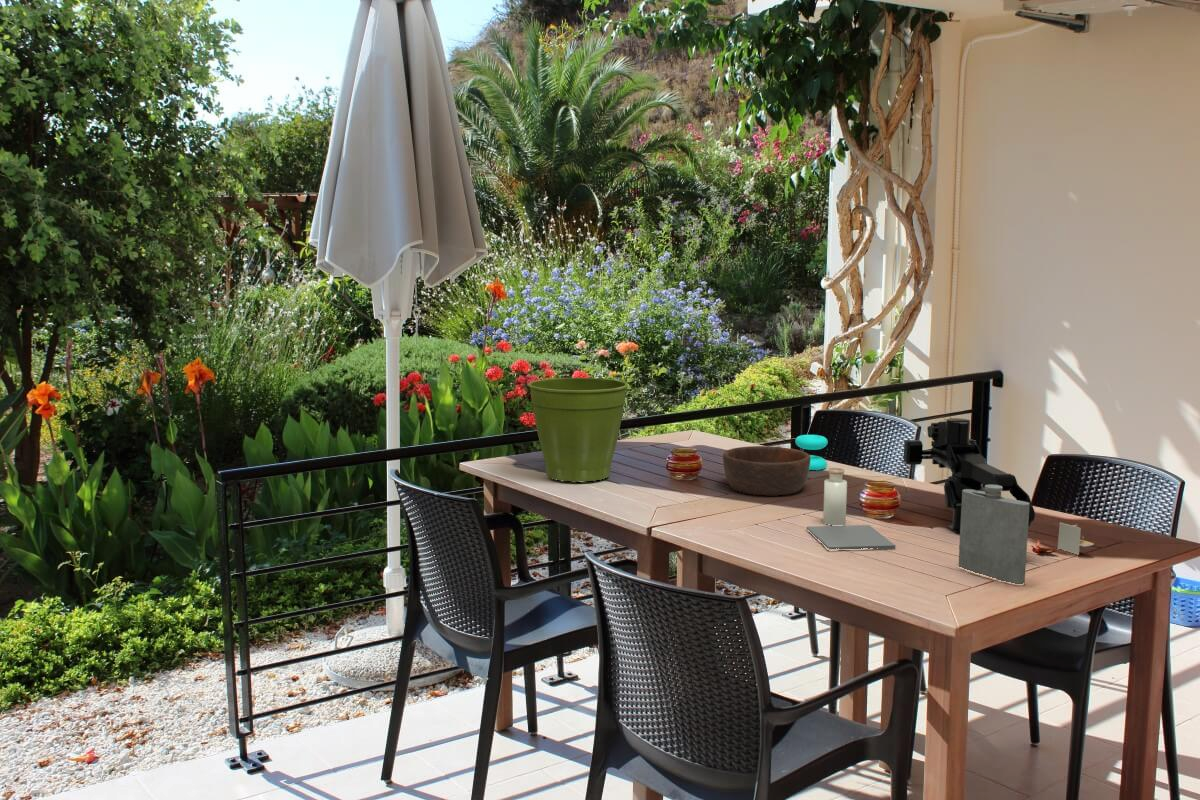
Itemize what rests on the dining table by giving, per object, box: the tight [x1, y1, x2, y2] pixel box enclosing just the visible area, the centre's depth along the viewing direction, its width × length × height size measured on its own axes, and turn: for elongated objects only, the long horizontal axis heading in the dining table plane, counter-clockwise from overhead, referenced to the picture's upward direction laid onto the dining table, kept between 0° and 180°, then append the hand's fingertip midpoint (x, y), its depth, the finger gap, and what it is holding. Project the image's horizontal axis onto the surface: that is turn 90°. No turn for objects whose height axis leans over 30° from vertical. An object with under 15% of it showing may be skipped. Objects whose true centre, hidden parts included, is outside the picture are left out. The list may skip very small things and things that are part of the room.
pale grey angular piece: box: [1057, 522, 1095, 556], centre depth 248 cm, size 3×7×7 cm, turn 29°
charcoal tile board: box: [806, 524, 897, 550], centre depth 260 cm, size 18×16×1 cm
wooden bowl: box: [722, 445, 811, 497], centre depth 312 cm, size 25×25×10 cm
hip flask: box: [958, 485, 1030, 584], centre depth 231 cm, size 16×4×20 cm, turn 34°
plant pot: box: [528, 377, 629, 483], centre depth 325 cm, size 30×30×29 cm
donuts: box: [794, 434, 829, 471], centre depth 340 cm, size 10×10×10 cm
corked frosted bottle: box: [822, 467, 848, 526], centre depth 274 cm, size 6×6×14 cm
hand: (927, 445), depth 291 cm, fingers open, 9 cm apart
